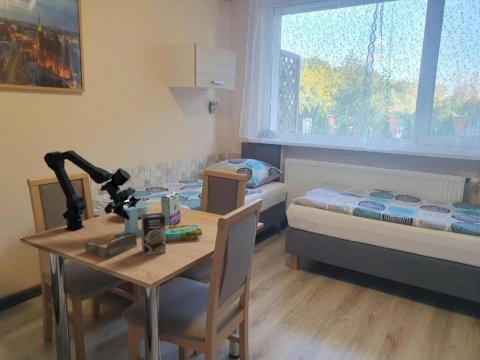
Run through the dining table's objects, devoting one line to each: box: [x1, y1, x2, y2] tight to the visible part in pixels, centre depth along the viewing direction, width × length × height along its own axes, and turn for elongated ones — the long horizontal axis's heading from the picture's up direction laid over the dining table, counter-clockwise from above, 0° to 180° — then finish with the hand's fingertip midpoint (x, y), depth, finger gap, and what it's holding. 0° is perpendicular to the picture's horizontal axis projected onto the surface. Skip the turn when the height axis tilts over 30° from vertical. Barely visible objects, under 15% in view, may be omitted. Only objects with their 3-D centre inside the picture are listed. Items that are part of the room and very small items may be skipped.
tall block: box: [123, 207, 139, 233], centre depth 168 cm, size 4×5×11 cm
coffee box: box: [140, 212, 167, 256], centre depth 149 cm, size 9×6×16 cm
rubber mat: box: [114, 229, 142, 239], centre depth 170 cm, size 11×11×1 cm
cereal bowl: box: [123, 200, 150, 219], centre depth 197 cm, size 17×17×7 cm
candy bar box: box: [160, 191, 181, 226], centre depth 183 cm, size 11×5×16 cm, turn 162°
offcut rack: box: [84, 233, 138, 259], centre depth 152 cm, size 14×15×6 cm
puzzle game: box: [165, 224, 203, 242], centre depth 168 cm, size 12×5×20 cm
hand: (133, 217), depth 167 cm, fingers closed on tall block, 5 cm apart
